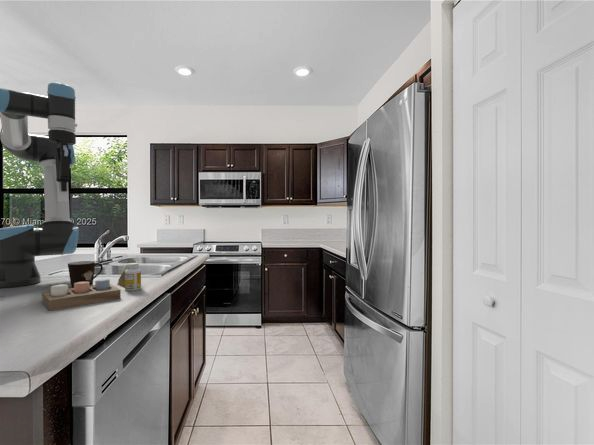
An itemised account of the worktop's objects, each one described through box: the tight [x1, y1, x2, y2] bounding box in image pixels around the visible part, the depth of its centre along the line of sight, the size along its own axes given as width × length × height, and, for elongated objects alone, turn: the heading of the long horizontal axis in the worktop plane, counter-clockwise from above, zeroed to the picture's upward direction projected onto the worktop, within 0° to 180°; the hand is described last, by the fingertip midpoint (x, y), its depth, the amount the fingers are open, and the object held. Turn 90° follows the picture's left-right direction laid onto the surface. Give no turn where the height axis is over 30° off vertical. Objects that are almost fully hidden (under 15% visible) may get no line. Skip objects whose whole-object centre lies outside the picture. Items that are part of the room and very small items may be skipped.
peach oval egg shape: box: [74, 282, 90, 294], centre depth 106 cm, size 4×4×5 cm
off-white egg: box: [50, 284, 69, 297], centre depth 102 cm, size 4×4×5 cm
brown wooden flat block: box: [41, 283, 122, 311], centre depth 106 cm, size 14×19×3 cm
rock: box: [116, 259, 138, 287], centre depth 127 cm, size 11×9×10 cm
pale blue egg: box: [94, 278, 111, 291], centre depth 110 cm, size 4×4×5 cm
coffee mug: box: [67, 260, 104, 288], centre depth 121 cm, size 12×9×10 cm
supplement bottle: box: [124, 262, 142, 292], centre depth 121 cm, size 5×5×10 cm
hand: (63, 201), depth 110 cm, fingers closed
